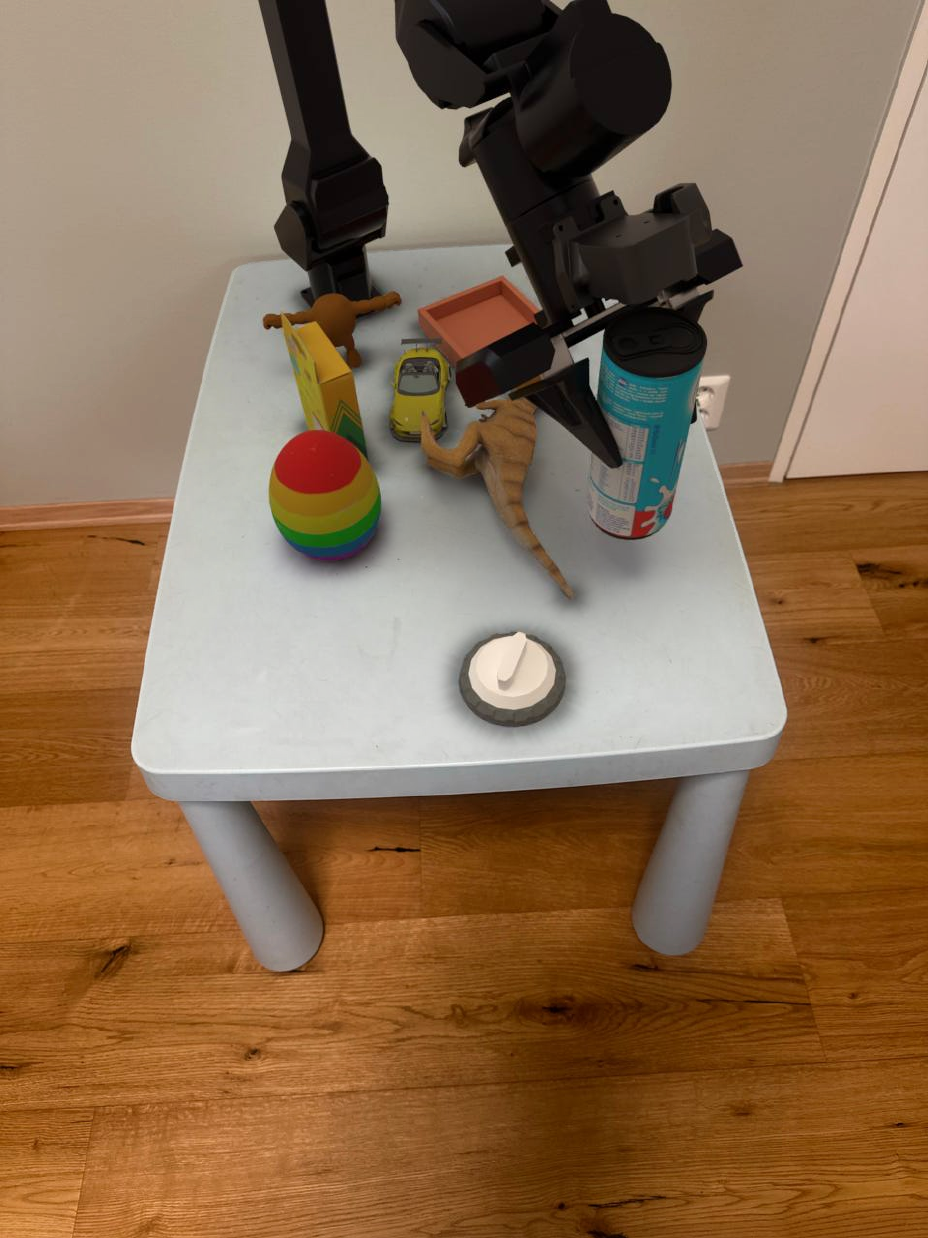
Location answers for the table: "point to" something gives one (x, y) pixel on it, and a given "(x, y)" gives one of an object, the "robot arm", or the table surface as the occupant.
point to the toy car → (419, 390)
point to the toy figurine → (337, 319)
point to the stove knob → (512, 679)
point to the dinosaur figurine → (498, 466)
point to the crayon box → (324, 383)
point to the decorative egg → (324, 496)
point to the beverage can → (644, 417)
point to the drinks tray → (476, 317)
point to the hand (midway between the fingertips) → (654, 445)
